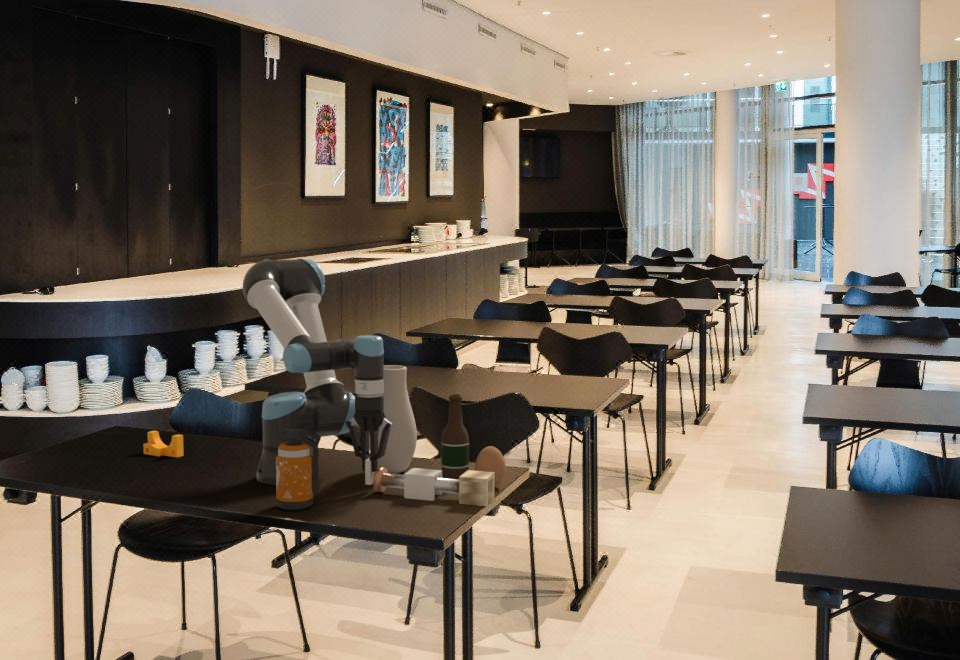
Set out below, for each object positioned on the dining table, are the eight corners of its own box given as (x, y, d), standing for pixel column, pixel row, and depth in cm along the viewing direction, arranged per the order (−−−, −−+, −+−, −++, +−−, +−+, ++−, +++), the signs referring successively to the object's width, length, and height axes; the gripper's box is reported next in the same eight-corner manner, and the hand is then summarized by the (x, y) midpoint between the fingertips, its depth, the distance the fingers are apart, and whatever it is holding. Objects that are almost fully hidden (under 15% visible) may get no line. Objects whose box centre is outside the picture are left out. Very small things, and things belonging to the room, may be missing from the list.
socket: (459, 503, 263) (459, 476, 263) (467, 496, 270) (467, 470, 269) (486, 506, 261) (486, 479, 260) (494, 498, 268) (494, 472, 267)
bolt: (373, 494, 271) (373, 470, 270) (382, 488, 277) (382, 464, 276) (459, 502, 264) (459, 477, 263) (467, 495, 270) (467, 471, 269)
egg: (509, 490, 276) (510, 448, 275) (479, 492, 274) (480, 450, 273) (500, 482, 284) (500, 442, 283) (471, 484, 282) (471, 443, 281)
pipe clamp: (143, 454, 313) (143, 433, 312) (154, 451, 317) (153, 430, 316) (172, 459, 307) (172, 437, 307) (183, 456, 311) (183, 435, 311)
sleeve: (404, 498, 268) (404, 473, 267) (413, 491, 274) (413, 467, 273) (433, 500, 266) (433, 476, 265) (441, 494, 272) (442, 470, 271)
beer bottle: (465, 485, 281) (466, 398, 278) (437, 483, 282) (438, 396, 279) (471, 478, 288) (472, 393, 285) (444, 476, 290) (445, 391, 287)
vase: (370, 478, 287) (370, 371, 283) (365, 466, 300) (365, 364, 297) (420, 476, 290) (420, 370, 286) (412, 464, 303) (413, 363, 299)
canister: (278, 501, 263) (277, 424, 261) (322, 501, 264) (322, 424, 262) (274, 512, 254) (273, 431, 252) (320, 511, 255) (319, 431, 253)
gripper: (340, 395, 270) (341, 484, 272) (386, 398, 266) (387, 488, 268) (352, 391, 277) (353, 478, 279) (397, 394, 273) (398, 482, 275)
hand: (370, 483), depth 274 cm, fingers closed
